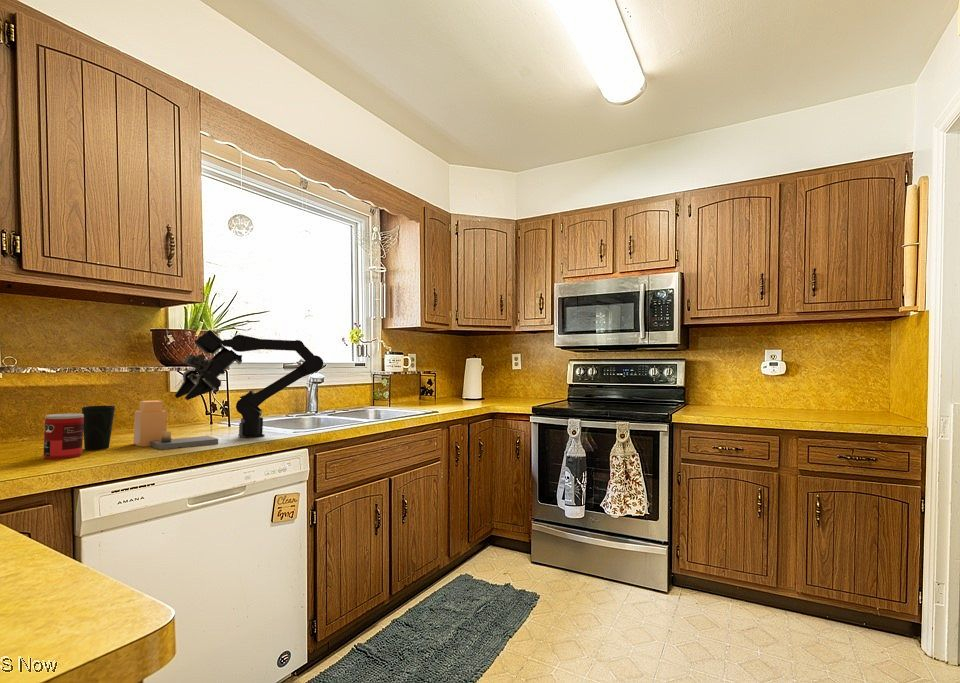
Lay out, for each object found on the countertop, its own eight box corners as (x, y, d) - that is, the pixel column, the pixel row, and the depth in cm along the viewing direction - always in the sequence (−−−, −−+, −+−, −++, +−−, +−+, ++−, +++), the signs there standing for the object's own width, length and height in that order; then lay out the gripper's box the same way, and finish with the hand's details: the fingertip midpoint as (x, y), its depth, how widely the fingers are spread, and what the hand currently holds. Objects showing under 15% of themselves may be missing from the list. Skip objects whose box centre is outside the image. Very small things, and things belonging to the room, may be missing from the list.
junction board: (207, 440, 162) (207, 426, 163) (218, 443, 156) (218, 429, 157) (149, 445, 151) (150, 430, 151) (159, 449, 145) (160, 434, 145)
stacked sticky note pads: (158, 441, 159) (160, 400, 159) (165, 444, 154) (167, 401, 155) (133, 443, 154) (135, 401, 154) (139, 446, 149) (141, 402, 150)
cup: (75, 451, 140) (77, 408, 140) (85, 447, 147) (87, 405, 147) (108, 450, 143) (110, 407, 143) (116, 445, 150) (118, 405, 150)
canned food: (49, 455, 135) (51, 413, 135) (86, 453, 138) (88, 413, 138) (37, 460, 128) (40, 416, 128) (76, 458, 131) (78, 416, 131)
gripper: (190, 346, 171) (151, 379, 163) (212, 346, 159) (171, 381, 150) (214, 369, 177) (177, 402, 168) (236, 371, 164) (198, 406, 156)
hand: (180, 398), depth 160 cm, fingers open, 9 cm apart
